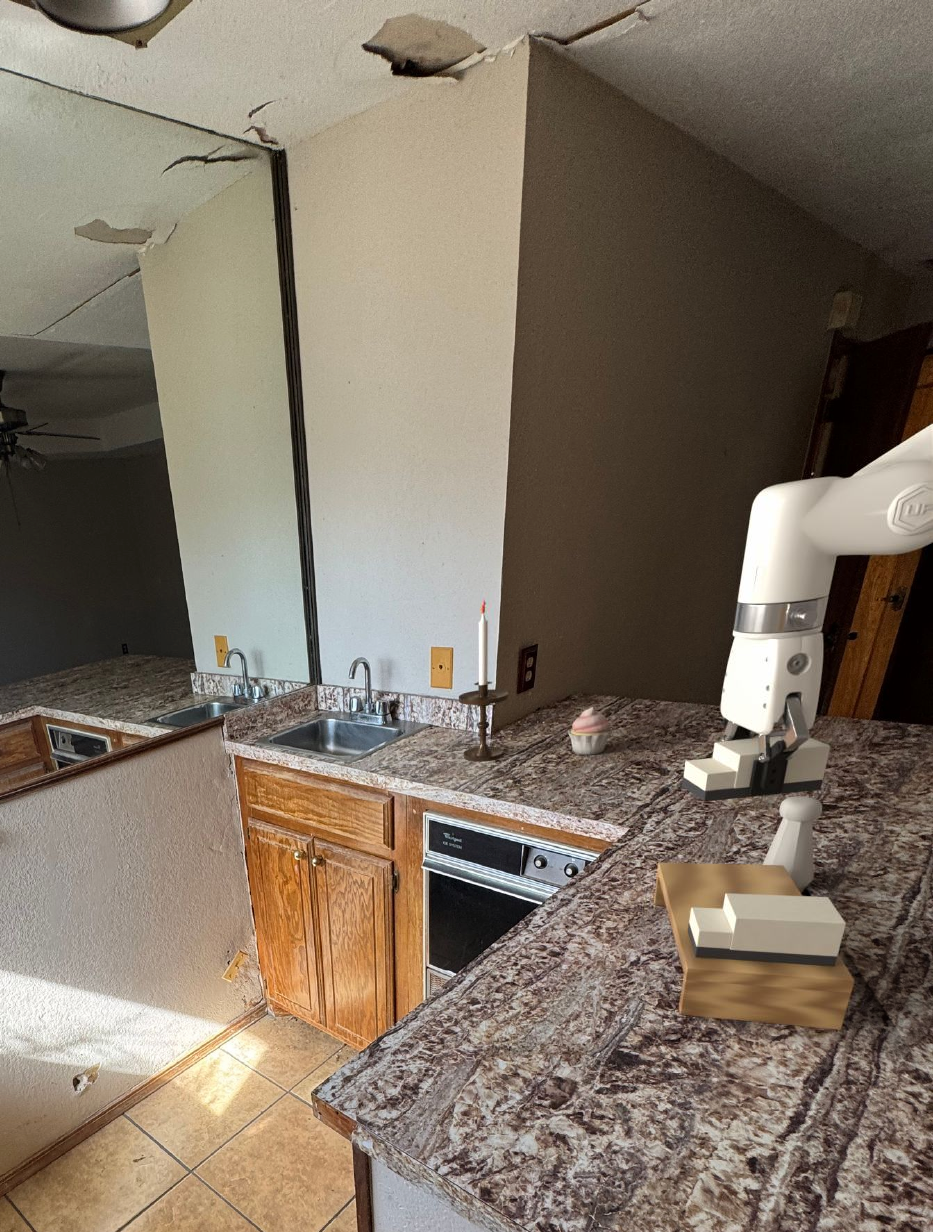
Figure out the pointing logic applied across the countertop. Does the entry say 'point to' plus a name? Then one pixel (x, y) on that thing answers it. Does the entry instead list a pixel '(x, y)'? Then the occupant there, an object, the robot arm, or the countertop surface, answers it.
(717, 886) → the shoe shelf
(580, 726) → the cupcake
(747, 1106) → the countertop surface
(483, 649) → the candlestick
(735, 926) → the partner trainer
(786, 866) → the salt shaker
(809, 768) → the trainer
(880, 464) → the robot arm
